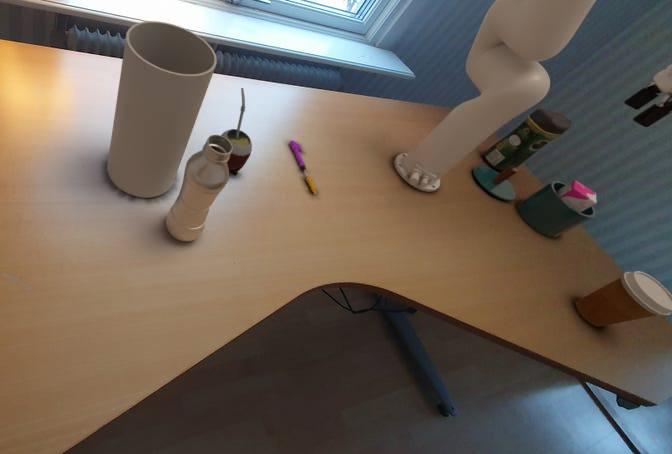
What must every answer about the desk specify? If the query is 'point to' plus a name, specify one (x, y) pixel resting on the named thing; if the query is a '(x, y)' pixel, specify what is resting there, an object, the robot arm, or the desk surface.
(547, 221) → the pot
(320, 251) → the desk surface
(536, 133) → the coffee jar
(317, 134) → the desk surface
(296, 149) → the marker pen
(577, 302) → the disposable coffee cup
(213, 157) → the plastic bottle
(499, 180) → the pot lid
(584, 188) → the supplement box
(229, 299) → the desk surface
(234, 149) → the mate gourd
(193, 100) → the cylinder vase
